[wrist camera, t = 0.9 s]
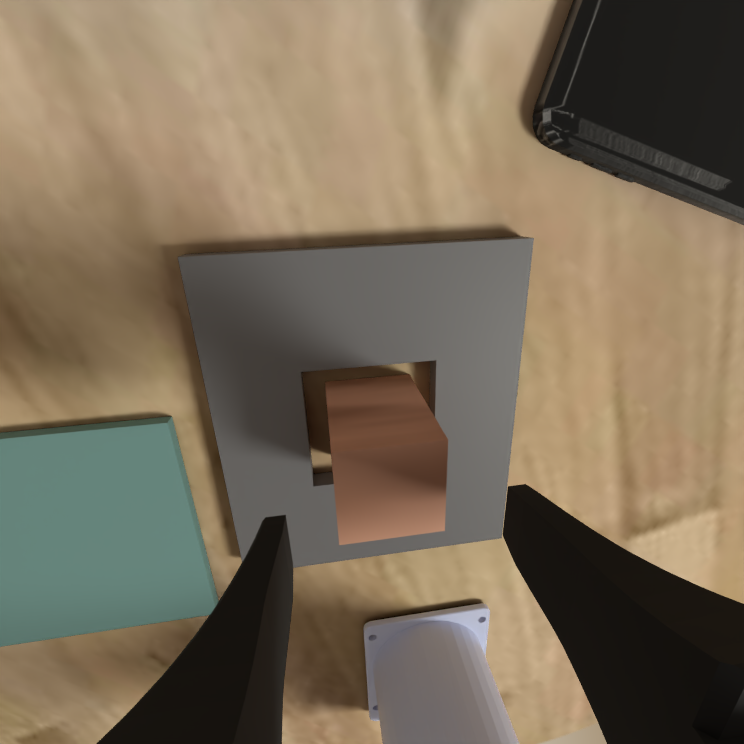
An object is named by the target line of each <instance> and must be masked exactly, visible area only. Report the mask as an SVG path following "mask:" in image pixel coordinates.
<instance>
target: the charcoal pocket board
mask: <svg viewBox="0 0 744 744" xmlns="http://www.w3.org/2000/svg"><path fill="white" fill-rule="evenodd" d="M533 240H534V238H529V237H504V238H485V239H466V240H446V241H427V242H408V243H389V244H370V245H351V246H332V247H313V248H294V249H275V250H255V251H236V252H217V253H198V254H184V255H182V256H179V257H178V261H179V266H180V271H181V275H182V280H183V285H184V289H185V294H186V299H187V304H188V308H189V313H190V318H191V323H192V327H193V332H194V337H195V341H196V346H197V351H198V356H199V360H200V365H201V370H202V374H203V379H204V384H205V389H206V393H207V398H208V403H209V408H210V412H211V417H212V422H213V426H214V431H215V436H216V441H217V445H218V450H219V455H220V459H221V464H222V469H223V474H224V478H225V483H226V488H227V493H228V497H229V502H230V507H231V511H232V516H233V521H234V526H235V530H236V535H237V540H238V544H239V549H240V554H241V559H242V562H243V560H244V558H245V556H246V555H247V553H248V551H249V549H250V547H251V545H252V543H253V541H254V539H255V537H256V534H257V532H258V530H259V528H260V525H261V523H262V521H263V520H264V519H265V517H272V516H280V515H286V520H287V527H288V533H289V540H290V547H291V554H292V560H293V568H294V567H301V566H308V565H315V564H322V563H329V562H337V561H344V560H351V559H358V558H365V557H372V556H379V555H386V554H393V553H400V552H407V551H414V550H421V549H428V548H435V547H442V546H450V545H457V544H464V543H471V542H478V541H485V540H492V539H499V538H502V529H503V519H504V510H505V501H506V491H507V482H508V473H509V463H510V454H511V445H512V435H513V426H514V417H515V408H516V398H517V389H518V380H519V370H520V361H521V352H522V342H523V333H524V324H525V314H526V305H527V296H528V286H529V277H530V268H531V258H532V249H533ZM422 361H430V399H429V408H430V410H431V412H432V413H433V415H434V417H435V418H436V420H437V422H438V423H439V425H440V427H441V428H442V430H443V432H444V433H445V435H446V437H447V439H448V461H447V487H446V513H445V531H440V532H433V533H426V534H418V535H411V536H404V537H396V538H389V539H382V540H374V541H367V542H360V543H352V544H345V545H339V536H338V525H337V514H336V503H335V491H334V480H333V472H327V473H319V474H313V468H312V459H311V450H310V441H309V432H308V423H307V414H306V405H305V396H304V387H303V378H302V372H307V371H319V370H330V369H342V368H353V367H365V366H376V365H388V364H399V363H411V362H422Z"/></svg>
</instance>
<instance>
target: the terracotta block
mask: <svg viewBox="0 0 744 744" xmlns="http://www.w3.org/2000/svg"><path fill="white" fill-rule="evenodd" d="M325 388H326V400H327V411H328V423H329V435H330V446H331V458H332V469H333V480H334V491H335V503H336V514H337V525H338V536H339V545H345V544H352V543H360V542H367V541H374V540H382V539H389V538H396V537H404V536H411V535H418V534H426V533H433V532H440V531H445V513H446V487H447V461H448V439H447V437H446V435H445V433H444V432H443V430H442V428H441V427H440V425H439V423H438V422H437V420H436V418H435V417H434V415H433V413H432V412H431V410H430V408H429V407H428V405H427V403H426V401H425V400H424V398H423V396H422V395H421V393H420V391H419V390H418V388H417V386H416V385H415V383H414V381H413V380H412V378H411V376H410V375H409V374H405V375H394V376H383V377H372V378H360V379H349V380H338V381H327V382H325Z"/></svg>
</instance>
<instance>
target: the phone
mask: <svg viewBox="0 0 744 744" xmlns="http://www.w3.org/2000/svg"><path fill="white" fill-rule="evenodd" d="M533 128H534V132H535V135H536V137H537V138H538V140H539V141H540V142H541V144H543V145H544V146H546V147H548V148H550V149H552V150H555V151H557V152H560V153H562V154H565V155H567V157H570V158H572V159H575V160H577V161H583V162H585V163H588V164H590V166H591V167H594V168H596V169H599V170H601V171H604V172H607V173H613V174H615V177H618V178H620V179H623V180H625V181H628V182H636V183H638V184H641V185H643V186H646V187H648V188H651V189H654V190H656V191H659V192H661V193H664V194H666V195H669V196H671V197H674V198H676V199H679V200H681V201H684V202H686V203H689V204H692V205H694V206H697V207H699V208H702V209H704V210H707V211H709V212H712V213H714V214H717V215H719V216H722V217H725V218H727V219H730V220H732V221H735V222H737V223H740V224H742V225H744V0H574V1H573V3H572V6H571V9H570V12H569V14H568V17H567V20H566V22H565V25H564V28H563V31H562V33H561V36H560V39H559V42H558V44H557V47H556V50H555V53H554V55H553V58H552V61H551V64H550V66H549V69H548V72H547V75H546V77H545V80H544V83H543V85H542V88H541V91H540V94H539V96H538V99H537V102H536V105H535V109H534V113H533Z"/></svg>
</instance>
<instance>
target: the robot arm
mask: <svg viewBox="0 0 744 744" xmlns="http://www.w3.org/2000/svg"><path fill="white" fill-rule="evenodd" d="M503 537H504V539H505V541H506V544H507V546H508V548H509V551H510V553H511V555H512V558H513V560H514V562H515V564H516V566H517V568H518V570H519V571H520V573H521V575H522V577H523V578H524V580H525V582H526V583H527V585H528V587H529V589H530V590H531V592H532V594H533V595H534V597H535V599H536V600H537V602H538V604H539V605H540V607H541V609H542V611H543V612H544V614H545V616H546V617H547V619H548V621H549V622H550V624H551V626H552V627H553V629H554V631H555V633H556V634H557V636H558V638H559V640H560V642H561V644H562V645H563V647H564V649H565V651H566V654H567V656H568V658H569V660H570V662H571V664H572V666H573V668H574V670H575V672H576V675H577V677H578V679H579V681H580V683H581V685H582V687H583V690H584V692H585V694H586V696H587V699H588V701H589V703H590V705H591V707H592V710H593V712H594V714H595V716H596V718H597V721H598V723H599V725H600V728H601V730H602V733H603V735H604V737H605V740H606V742H607V744H744V604H742V603H740V602H737V601H735V600H732V599H729V598H727V597H724V596H722V595H719V594H717V593H714V592H712V591H709V590H707V589H705V588H702V587H700V586H698V585H695V584H693V583H691V582H689V581H687V580H684V579H682V578H680V577H678V576H676V575H673V574H671V573H669V572H667V571H665V570H663V569H661V568H659V567H657V566H655V565H653V564H651V563H649V562H648V561H646V560H644V559H642V558H640V557H638V556H636V555H634V554H632V553H631V552H629V551H627V550H625V549H624V548H622V547H620V546H618V545H617V544H615V543H613V542H612V541H610V540H608V539H607V538H605V537H604V536H602V535H600V534H599V533H597V532H595V531H594V530H592V529H591V528H589V527H588V526H586V525H585V524H583V523H582V522H580V521H579V520H577V519H576V518H574V517H573V516H571V515H570V514H568V513H567V512H565V511H564V510H562V509H561V508H560V507H558V506H557V505H555V504H554V503H552V502H551V501H550V500H548V499H547V498H545V497H544V496H542V495H541V494H540V493H538V492H537V491H535V490H534V489H532V488H531V487H529V486H528V485H526V484H524V485H516V486H508V492H507V501H506V510H505V519H504V528H503ZM292 603H293V560H292V554H291V547H290V540H289V533H288V527H287V520H286V515H280V516H272V517H265V519H264V520H263V521H262V523H261V525H260V528H259V530H258V532H257V534H256V537H255V539H254V541H253V543H252V545H251V547H250V549H249V551H248V553H247V555H246V556H245V558H244V560H243V562H242V564H241V566H240V567H239V569H238V571H237V573H236V575H235V576H234V578H233V580H232V581H231V583H230V585H229V586H228V588H227V589H226V591H225V593H224V594H223V596H222V597H221V599H220V601H219V602H218V604H217V605H216V607H215V608H214V610H213V611H212V613H211V614H210V615H209V617H208V618H207V620H206V621H205V623H204V624H203V625H202V627H201V628H200V629H199V631H198V632H197V633H196V635H195V636H194V637H193V639H192V640H191V641H190V642H189V644H188V645H187V646H186V648H185V649H184V650H183V651H182V653H181V654H180V655H179V656H178V658H177V659H176V660H175V661H174V662H173V664H172V665H171V666H170V667H169V668H168V670H167V671H166V672H165V673H164V674H163V675H162V676H161V678H160V679H159V680H158V681H157V682H156V683H155V684H154V685H153V686H152V687H151V689H150V690H149V691H148V692H147V693H146V694H145V695H144V696H143V697H142V698H141V699H140V701H139V702H138V703H137V704H136V705H135V706H134V707H133V708H132V709H131V710H130V711H129V712H128V713H127V714H126V715H125V716H124V717H123V718H122V719H121V720H120V721H119V722H118V723H117V724H116V725H115V726H114V727H113V728H112V729H111V730H110V731H109V732H108V733H107V734H106V735H105V736H104V737H103V738H102V739H101V740H100V741H99V742H98V743H97V744H282V710H283V688H284V676H285V667H286V658H287V649H288V640H289V631H290V622H291V612H292ZM489 616H490V610H489V608H488V606H487V605H486V604H483V603H480V604H474V605H468V606H462V607H455V608H449V609H443V610H437V611H430V612H424V613H418V614H412V615H405V616H399V617H393V618H387V619H380V620H374V621H369V622H367V623H366V624H365V625H364V627H363V631H364V646H365V661H366V676H367V691H368V706H369V717H370V719H371V720H373V721H378V720H380V726H381V734H382V741H383V744H519V742H518V739H517V737H516V734H515V731H514V729H513V726H512V724H511V721H510V719H509V716H508V714H507V711H506V708H505V706H504V703H503V701H502V698H501V696H500V693H499V691H498V688H497V685H496V683H495V680H494V678H493V675H492V673H491V670H490V667H489V665H488V662H487V660H486V657H485V655H486V645H487V636H488V626H489Z"/></svg>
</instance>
